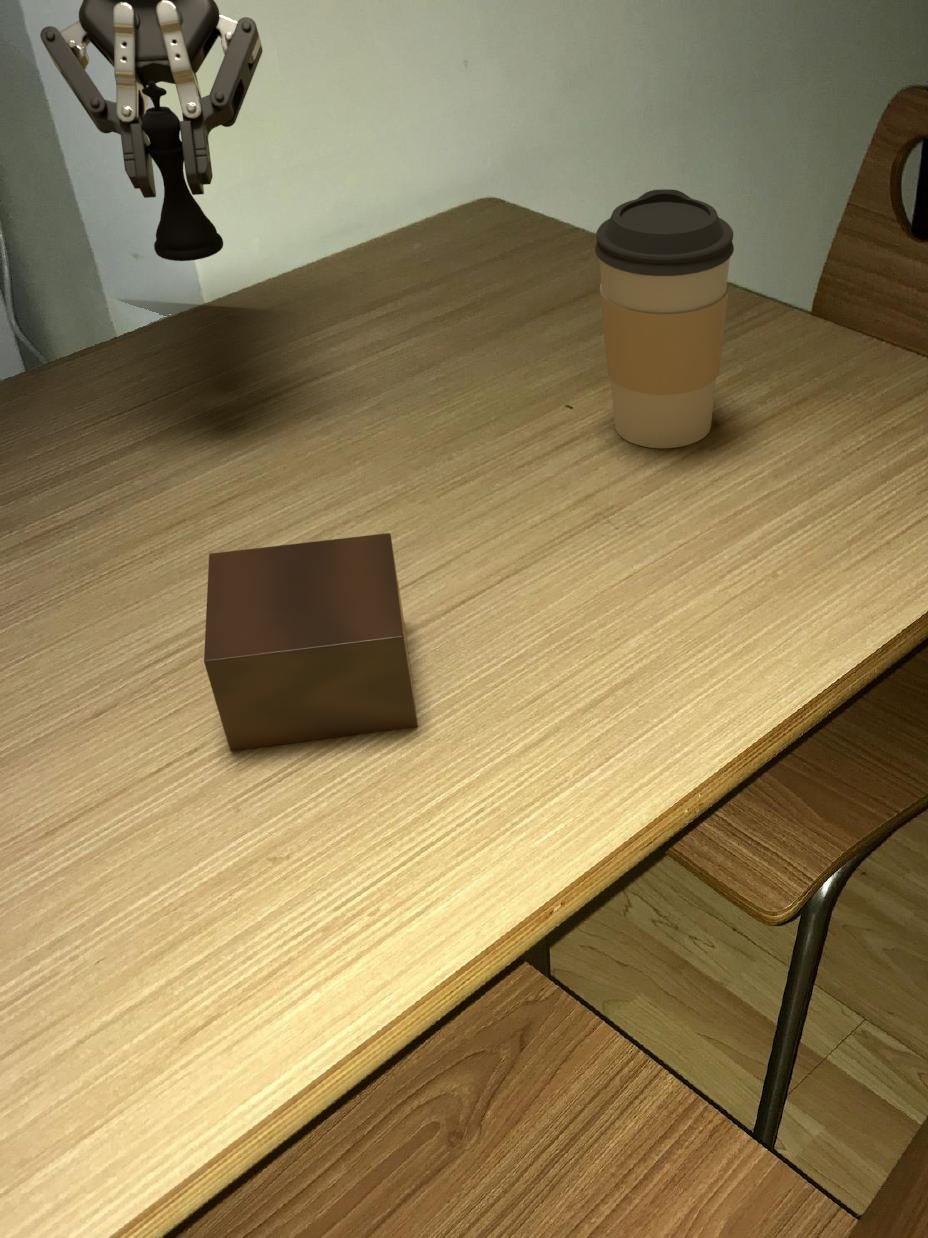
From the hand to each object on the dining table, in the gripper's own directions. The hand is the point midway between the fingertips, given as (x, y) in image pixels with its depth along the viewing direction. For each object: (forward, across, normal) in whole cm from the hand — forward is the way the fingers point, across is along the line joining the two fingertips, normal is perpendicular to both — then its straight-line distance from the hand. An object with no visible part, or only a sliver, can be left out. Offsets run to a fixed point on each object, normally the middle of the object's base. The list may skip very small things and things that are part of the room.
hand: (171, 189), depth 83 cm
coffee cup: (+15, +31, +9) cm, 35 cm away
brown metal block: (+33, +6, -9) cm, 35 cm away
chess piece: (+2, 0, +5) cm, 5 cm away
